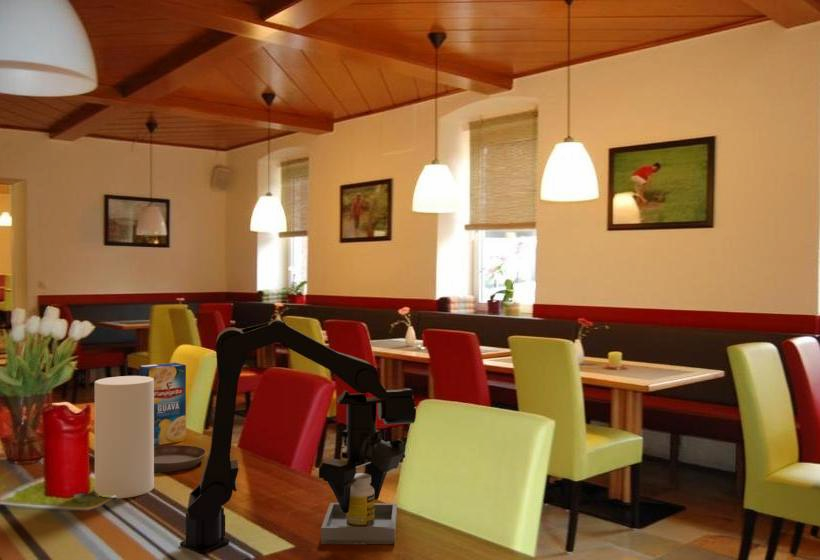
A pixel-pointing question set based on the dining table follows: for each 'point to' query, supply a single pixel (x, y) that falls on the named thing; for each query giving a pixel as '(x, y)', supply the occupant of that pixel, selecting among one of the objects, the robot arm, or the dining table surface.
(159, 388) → the beverage box
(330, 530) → the gray rectangular open tray
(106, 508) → the dining table surface
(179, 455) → the plant saucer
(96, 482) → the cylinder
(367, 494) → the supplement bottle
